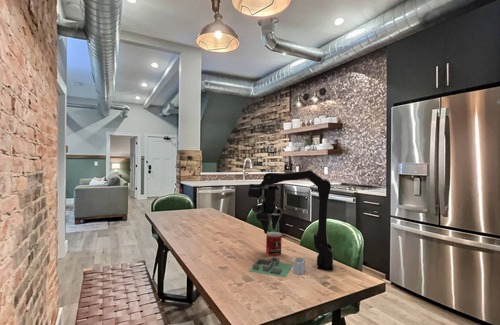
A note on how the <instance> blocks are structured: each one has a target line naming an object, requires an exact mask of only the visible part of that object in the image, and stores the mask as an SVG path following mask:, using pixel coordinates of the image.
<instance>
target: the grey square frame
mask: <svg viewBox="0 0 500 325" xmlns="http://www.w3.org/2000/svg"><path fill="white" fill-rule="evenodd" d="M259 264H265V266H263V265H261V266H263V271H267V272H269V271H270V269H271V268H272V266H273V261H272V260H271V261H270V259H263V258H257V260H256V261H255V262H254V263H253V264H252V267H253V269H254V270H259ZM267 265H268V266H267ZM261 266H260V268H261Z"/></svg>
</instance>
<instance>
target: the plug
mask: <svg viewBox="0 0 500 325" xmlns="http://www.w3.org/2000/svg"><path fill="white" fill-rule="evenodd" d="M292 267H293V269H292V270H293V272H292V273H293V274H296V275H302V276H303V275H304V273H305V271H306V270H305V268H306V258H303V257H295V258H294V260H293V264H292Z"/></svg>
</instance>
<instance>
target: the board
mask: <svg viewBox="0 0 500 325" xmlns="http://www.w3.org/2000/svg"><path fill="white" fill-rule="evenodd" d="M269 260H270V261H271V260H272V261H273V266H272V268H271V269H270V271H269V272H267V271H263V266H265V264H259V270H254V269H253V266H252V267H251V268H250V269H249V270H248V272H249V273H255V274H259V275H261V274H262V275H267V276H273V277H280V278H287V276H288V274H289V273H290V271H291V268H292V267H293V264H292V263H291V264H289V263H283V262H280V260H281V259H280V258H279V257H275V256H271V257H270V259H269ZM261 265H263V266H261ZM260 266H261V268H260ZM267 266H268V265H267Z"/></svg>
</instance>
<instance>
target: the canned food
mask: <svg viewBox="0 0 500 325" xmlns="http://www.w3.org/2000/svg"><path fill="white" fill-rule="evenodd" d="M265 237H266V238H265V239H266V244H265V245H266V246H265V253H266V255H268V256H271V257H277V256H278V257H279V256H281V255H282V232H278V231H268V232H267V234H266V236H265Z"/></svg>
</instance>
